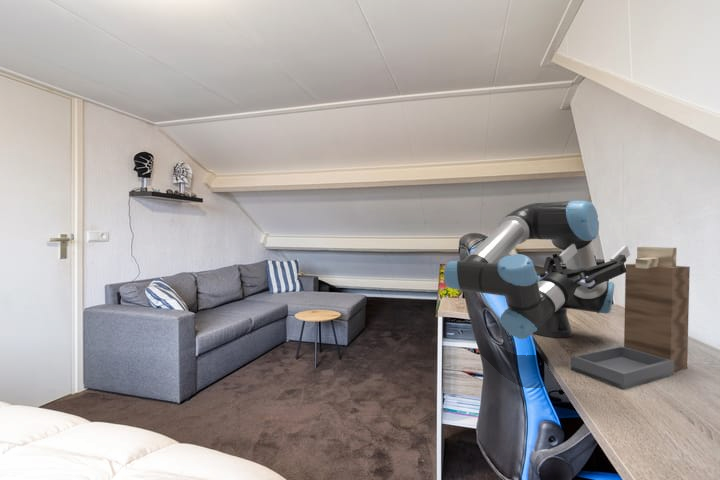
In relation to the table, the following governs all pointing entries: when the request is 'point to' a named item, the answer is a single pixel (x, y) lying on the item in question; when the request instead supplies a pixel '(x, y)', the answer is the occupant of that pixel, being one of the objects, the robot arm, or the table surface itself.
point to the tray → (622, 366)
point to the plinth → (658, 312)
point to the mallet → (655, 257)
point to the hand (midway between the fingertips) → (599, 248)
